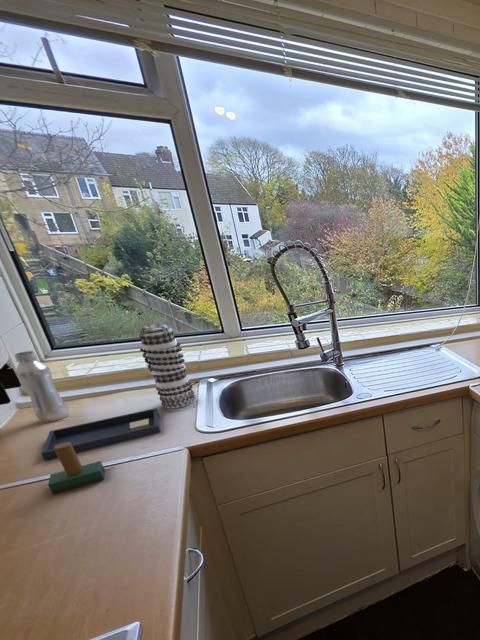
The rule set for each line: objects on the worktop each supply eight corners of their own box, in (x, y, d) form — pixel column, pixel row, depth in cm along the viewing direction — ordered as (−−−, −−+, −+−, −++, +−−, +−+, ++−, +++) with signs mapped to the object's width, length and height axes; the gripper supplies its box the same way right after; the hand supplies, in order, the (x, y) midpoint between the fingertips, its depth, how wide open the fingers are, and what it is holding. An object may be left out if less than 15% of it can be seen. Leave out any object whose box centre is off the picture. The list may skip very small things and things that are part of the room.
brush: (52, 494, 86) (33, 456, 83) (55, 483, 90) (36, 446, 86) (104, 479, 91) (87, 443, 87) (104, 469, 95) (88, 434, 91)
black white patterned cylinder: (197, 406, 125) (172, 328, 115) (159, 413, 120) (129, 332, 111) (199, 396, 132) (176, 321, 122) (163, 402, 128) (135, 324, 118)
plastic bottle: (37, 427, 112) (2, 359, 104) (41, 418, 117) (9, 352, 109) (70, 420, 116) (39, 354, 108) (73, 412, 121) (43, 348, 113)
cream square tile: (131, 432, 109) (129, 428, 109) (131, 426, 112) (129, 422, 112) (150, 427, 112) (149, 423, 111) (149, 422, 115) (148, 418, 114)
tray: (45, 462, 97) (41, 453, 96) (54, 439, 106) (49, 430, 105) (161, 434, 110) (158, 425, 109) (159, 415, 119) (156, 407, 118)
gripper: (-59, 303, 76) (-14, 386, 83) (-96, 322, 64) (-40, 418, 71) (2, 299, 81) (40, 378, 88) (-22, 315, 69) (24, 406, 75)
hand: (4, 396), depth 79 cm, fingers open, 9 cm apart
